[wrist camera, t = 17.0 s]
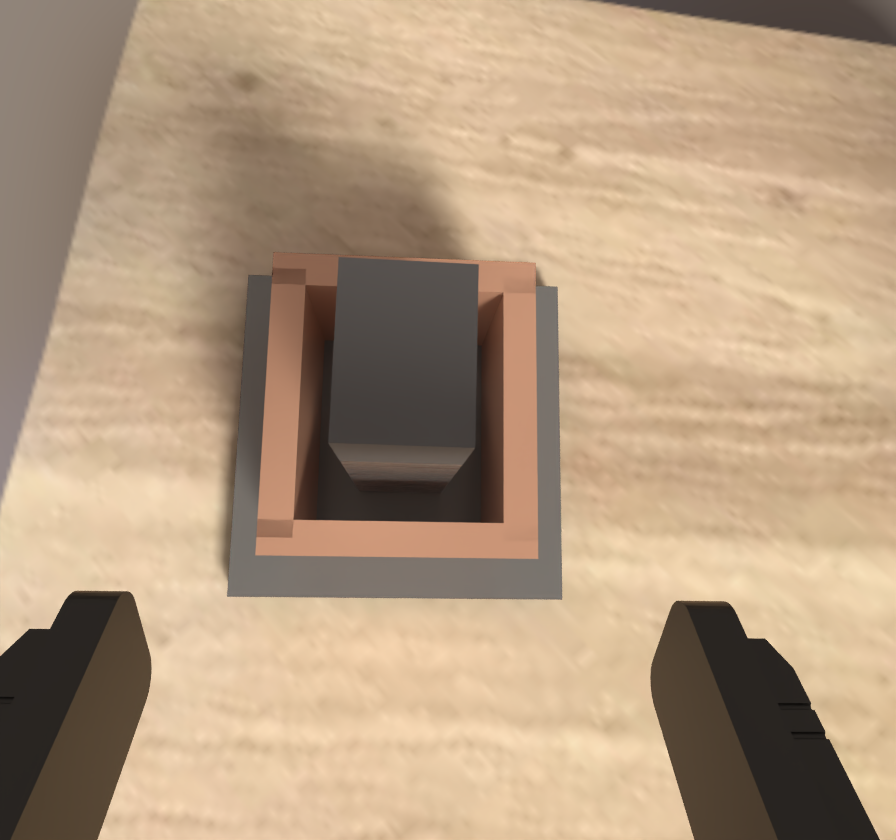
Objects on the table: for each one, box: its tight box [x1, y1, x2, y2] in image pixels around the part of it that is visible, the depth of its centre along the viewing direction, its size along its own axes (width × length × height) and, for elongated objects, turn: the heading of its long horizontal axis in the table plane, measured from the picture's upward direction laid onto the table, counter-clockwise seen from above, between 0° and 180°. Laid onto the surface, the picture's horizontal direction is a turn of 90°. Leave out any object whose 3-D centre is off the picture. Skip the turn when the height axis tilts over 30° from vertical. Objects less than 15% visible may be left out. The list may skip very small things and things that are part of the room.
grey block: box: [328, 257, 479, 493], centre depth 21 cm, size 3×4×12 cm
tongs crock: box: [227, 252, 562, 600], centre depth 25 cm, size 12×12×7 cm
